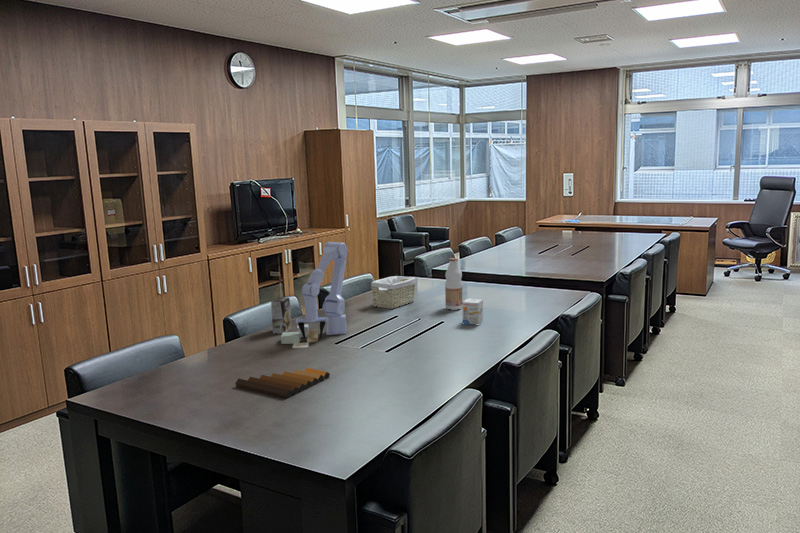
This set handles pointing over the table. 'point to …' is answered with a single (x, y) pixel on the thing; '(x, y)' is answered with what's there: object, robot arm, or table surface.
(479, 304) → the ink box
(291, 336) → the base block
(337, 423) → the table surface
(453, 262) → the fruit juice
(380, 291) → the storage basket
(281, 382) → the pan flute
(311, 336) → the maple cube
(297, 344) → the card
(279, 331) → the coffee box
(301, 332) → the grey cube
